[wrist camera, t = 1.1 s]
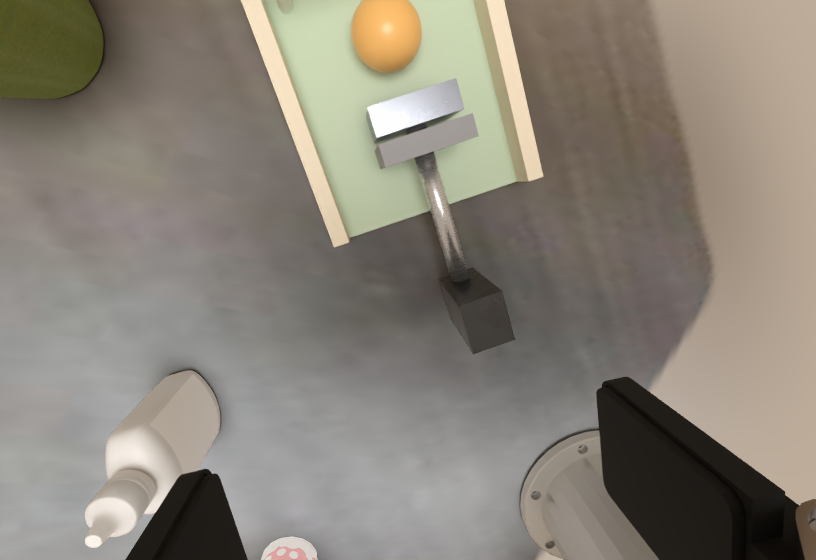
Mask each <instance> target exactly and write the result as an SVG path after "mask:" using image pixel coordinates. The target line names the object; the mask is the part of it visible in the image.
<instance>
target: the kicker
mask: <svg viewBox="0 0 816 560" xmlns="http://www.w3.org/2000/svg"><path fill="white" fill-rule="evenodd" d="M463 109H464V106H463V102H462V98H461V94H460V91H459V87H458V83H457V79H456V78H454V79H451V80H448V81H445V82H442V83H439V84H436V85H433V86H430V87H427V88H424V89H421V90H418V91H415V92H412V93H409V94H406V95H403V96H400V97H397V98H394V99H390V100H387V101H384V102H381V103H378V104H375V105H372V106H369V107H367V112H366V120H367V123H368V126H369V129H370V132H371V135H372V138H373V141H374V143H377V142H380V141H383V140H386V139H389V138H392V137H395V136H399V135H402V134H405V133H407V135H408V134H411V133H414V132H417V131H420V130H423V129H426V128H427V127H426V126H429V125H432V124H435V123H438V122H441V121H444V120H447V119H449V118H451V117H452V116H454V115H455V114H457V113H459V112H460V111H462V110H463ZM415 162H416V165H417V168H418V172H419V175H420V178H421V181H422V185H423V188H424V191H425V195H426V198H427V201H428V204H429V208H430V211H431V214H432V218H433V221H434V224H435V228H436V231H437V234H438V237H439V241H440V244H441V247H442V251H443V254H444V257H445V260H446V264H447V267H448V270H449V274H450V276H448V277H445V278H442V279H439V283H440V286H441V290H442V293H443V296H444V299H445V302H446V306H447V309H448V312H449V315H450V318H451V320H452V322H453V323H454V325H455V326H456V328H457V330H458V331H459V333H460V334H461V336H462V337H463V339H464V340H465V342H466V344H467V345H468V347H469V348H470V350H471V351H472V353H473V354H475V353H478V352H481V351H483V350H486V349H489V348H492V347H495V346H498V345H501V344H503V343H506V342H509V341H512V340H515V337H514V334H513V330H512V326H511V323H510V319H509V315H508V312H507V308H506V304H505V301H504V297H503V293H502V291H501V290H500V289H499V288H497V287H496V286H495V285H494V284H492V283H491V282H490V281H489V280H487V279H486V278H485V277H484V276H482V275H481V274H480V273H479V272H477V271H476V270H475V269H474V268H471V269H468V268H467V265H466V262H465V258H464V255H463V251H462V248H461V244H460V241H459V237H458V234H457V230H456V227H455V224H454V220H453V217H452V213H451V210H450V206H449V203H448V199H447V196H446V193H445V189H444V186H443V182H442V179H441V175H440V172H439V168H438V165H437V162H436V158H435V155H434V151H433V152H430V153H427V154H424V155H421V156H418V157H415Z"/></svg>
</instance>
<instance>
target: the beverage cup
mask: <svg viewBox="0 0 816 560" xmlns="http://www.w3.org/2000/svg"><path fill="white" fill-rule="evenodd" d="M261 560H318V559H317V552H316V550H315V548H314V547H313V545H312V544H311V543H310V542H308V541H306V540H304V539H303V538H298V537H293V536H291V537H284V538H279V539H277V540H275V541H273V542H271V543H270V544H269V545H268V546H267V548H266V549H265V550H264V552H263V555H262V558H261Z"/></svg>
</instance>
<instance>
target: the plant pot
mask: <svg viewBox="0 0 816 560" xmlns="http://www.w3.org/2000/svg"><path fill="white" fill-rule="evenodd" d="M102 55H103V33H102V29H101V26H100V23H99V21H98V19H97V16H96V14H95V12H94V10H93V8H92V6H91V4H90V2H89V0H0V97H7V98H30V99H57V98H61V97H64V96H67V95H70V94H72V93H75V92H77V91H79V90H81V89H83V88H84V87H85V86H86V85H87V84H88V83H89V82H90V81H91V79H92V78H93V77H94V76H95V74H96V73H97V71H98V69H99V66H100V64H101V60H102Z"/></svg>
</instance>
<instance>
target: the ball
mask: <svg viewBox="0 0 816 560" xmlns="http://www.w3.org/2000/svg"><path fill="white" fill-rule="evenodd" d="M351 39H352V43H353V46H354V49H355V51H356V53H357V55H358V56H359V58H360V59H361V60H362V62H363V63H364V64H366V65H367V66H368V67H370V68H371V69H373V70H375V71H378V72H382V73H393V72H397V71H399V70H402V69H403V68H405V67H406V66H408V65H409V64H410V63H411V62H412V60H413V59H414V58H415V56H416V54H417V53H418V50H419V48H420V44H421V39H422V27H421V22H420V18H419V15H418V13H417V11H416V9H415V7H414V6H413V5H412V3H411V2H410V1H409V0H362V1H361V2H360V4H359V5H358V7H357V8H356V10H355V12H354V15H353V18H352V22H351Z"/></svg>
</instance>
